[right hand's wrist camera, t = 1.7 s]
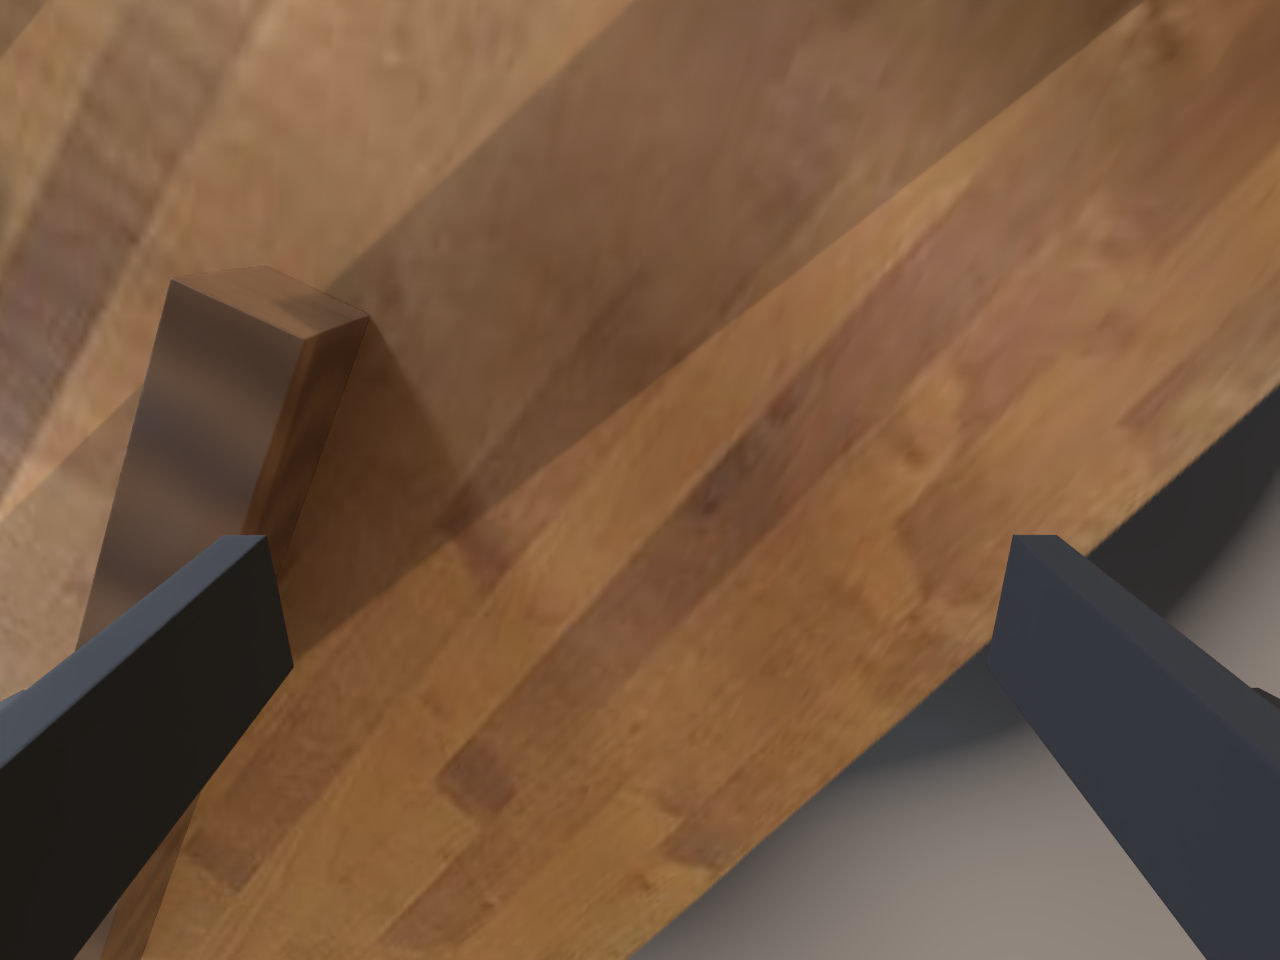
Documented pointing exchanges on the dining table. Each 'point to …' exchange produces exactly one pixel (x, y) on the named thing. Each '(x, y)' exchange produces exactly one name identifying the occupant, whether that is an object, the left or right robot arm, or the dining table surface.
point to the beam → (215, 470)
